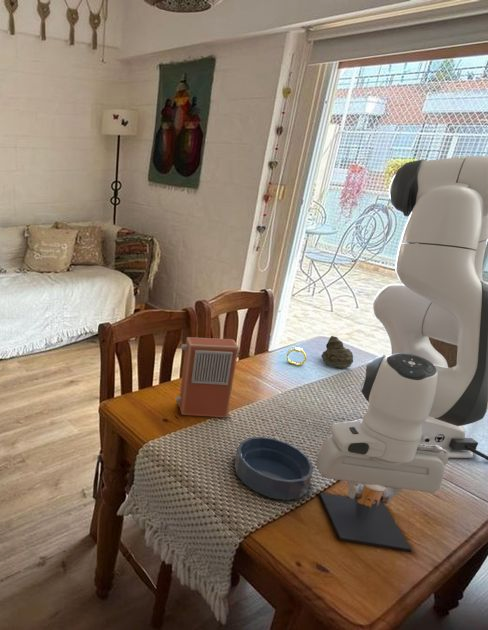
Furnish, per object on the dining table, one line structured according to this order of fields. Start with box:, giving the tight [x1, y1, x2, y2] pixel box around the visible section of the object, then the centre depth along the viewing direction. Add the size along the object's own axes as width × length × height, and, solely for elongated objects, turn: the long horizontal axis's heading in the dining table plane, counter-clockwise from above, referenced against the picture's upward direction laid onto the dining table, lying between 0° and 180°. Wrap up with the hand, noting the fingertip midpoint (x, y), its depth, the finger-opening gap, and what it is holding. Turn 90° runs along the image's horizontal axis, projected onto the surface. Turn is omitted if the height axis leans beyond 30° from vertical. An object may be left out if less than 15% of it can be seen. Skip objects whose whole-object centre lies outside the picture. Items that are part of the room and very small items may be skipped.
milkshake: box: [353, 483, 388, 520], centre depth 85 cm, size 5×5×10 cm
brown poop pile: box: [321, 335, 354, 369], centre depth 151 cm, size 11×12×10 cm
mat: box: [318, 492, 412, 552], centre depth 87 cm, size 12×12×1 cm
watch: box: [286, 346, 307, 367], centre depth 151 cm, size 6×3×6 cm, turn 60°
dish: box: [234, 436, 314, 501], centre depth 98 cm, size 15×15×5 cm
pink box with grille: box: [175, 336, 240, 419], centre depth 120 cm, size 21×7×15 cm
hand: (367, 499), depth 85 cm, fingers closed on milkshake, 4 cm apart
